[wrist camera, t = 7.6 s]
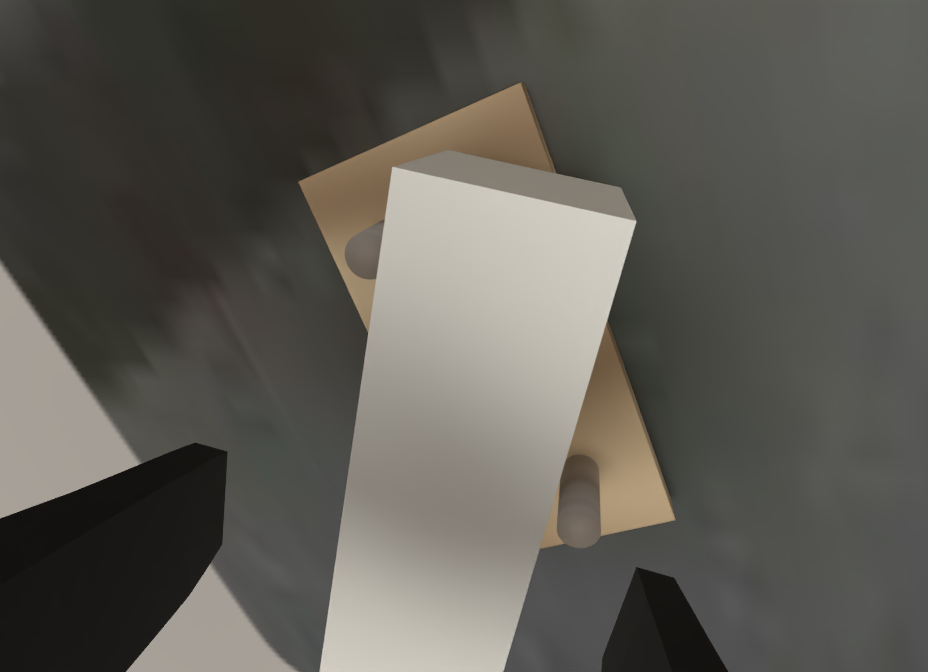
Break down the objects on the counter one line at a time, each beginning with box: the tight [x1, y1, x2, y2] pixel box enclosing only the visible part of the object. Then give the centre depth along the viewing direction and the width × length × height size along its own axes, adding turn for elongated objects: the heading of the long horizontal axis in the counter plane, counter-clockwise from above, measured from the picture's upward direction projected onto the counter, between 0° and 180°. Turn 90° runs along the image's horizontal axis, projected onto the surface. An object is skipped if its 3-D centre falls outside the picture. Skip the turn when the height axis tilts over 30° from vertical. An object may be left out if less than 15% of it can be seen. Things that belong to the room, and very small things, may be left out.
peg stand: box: [299, 82, 675, 549], centre depth 18 cm, size 14×7×4 cm, turn 22°
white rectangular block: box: [320, 150, 636, 672], centre depth 14 cm, size 12×4×4 cm, turn 169°
